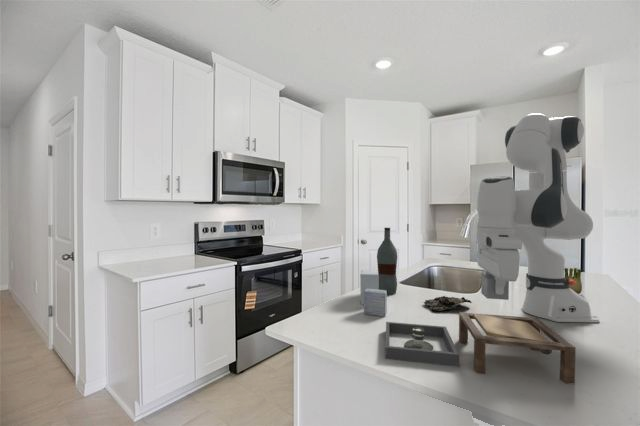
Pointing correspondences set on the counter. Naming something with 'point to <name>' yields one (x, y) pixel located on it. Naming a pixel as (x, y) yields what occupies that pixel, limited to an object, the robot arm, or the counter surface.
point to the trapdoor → (510, 329)
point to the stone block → (488, 288)
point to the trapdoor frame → (518, 343)
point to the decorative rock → (445, 303)
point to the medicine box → (375, 302)
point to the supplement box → (368, 282)
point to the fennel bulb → (575, 277)
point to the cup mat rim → (421, 354)
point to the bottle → (387, 264)
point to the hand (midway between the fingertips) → (494, 290)
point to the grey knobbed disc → (418, 340)
